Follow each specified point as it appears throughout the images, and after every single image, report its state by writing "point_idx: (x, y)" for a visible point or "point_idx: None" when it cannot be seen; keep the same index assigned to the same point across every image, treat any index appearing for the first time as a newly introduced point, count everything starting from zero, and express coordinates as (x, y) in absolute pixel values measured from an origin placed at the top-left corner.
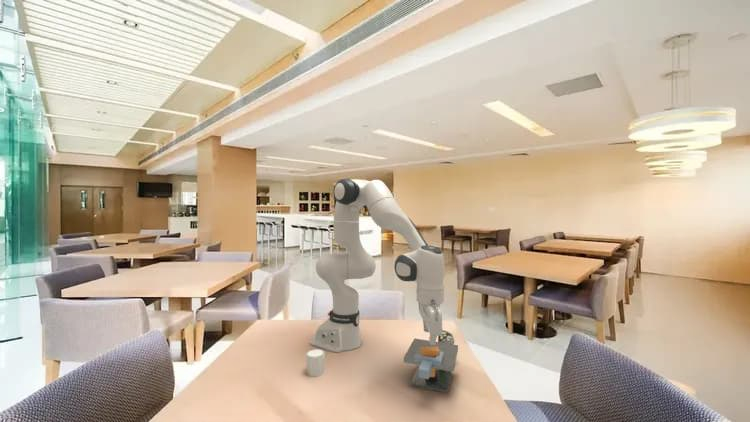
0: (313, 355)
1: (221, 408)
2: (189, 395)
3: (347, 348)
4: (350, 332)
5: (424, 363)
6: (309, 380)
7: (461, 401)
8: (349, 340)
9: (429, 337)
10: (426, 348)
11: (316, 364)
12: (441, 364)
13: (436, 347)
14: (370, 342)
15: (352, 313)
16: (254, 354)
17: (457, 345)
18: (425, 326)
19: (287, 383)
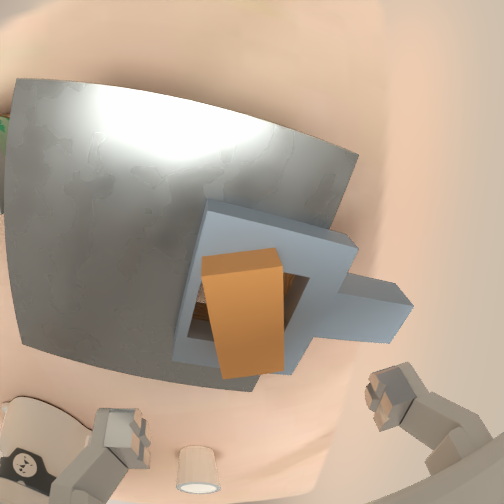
0: (210, 488)
1: (305, 479)
2: (278, 497)
3: (78, 426)
4: (59, 454)
5: (348, 326)
6: (229, 452)
7: (314, 100)
8: (67, 439)
9: (380, 430)
10: (245, 348)
11: (215, 472)
12: (327, 227)
13: (218, 286)
14: (10, 378)
15: (42, 496)
16: (165, 494)
17: (19, 82)
18: (129, 463)
19: (243, 465)
